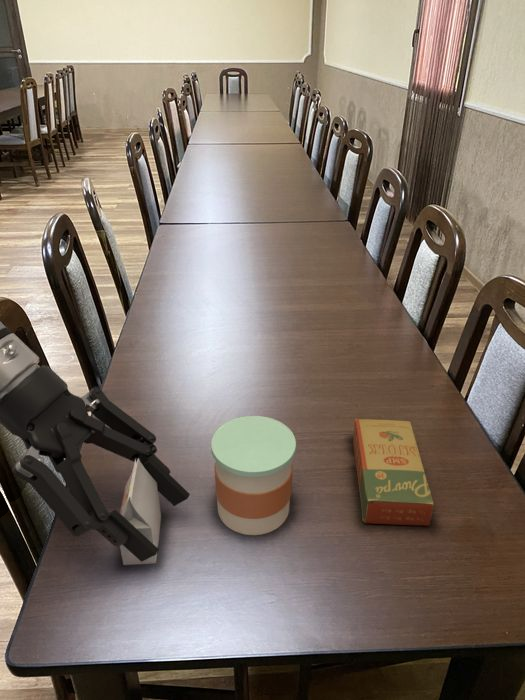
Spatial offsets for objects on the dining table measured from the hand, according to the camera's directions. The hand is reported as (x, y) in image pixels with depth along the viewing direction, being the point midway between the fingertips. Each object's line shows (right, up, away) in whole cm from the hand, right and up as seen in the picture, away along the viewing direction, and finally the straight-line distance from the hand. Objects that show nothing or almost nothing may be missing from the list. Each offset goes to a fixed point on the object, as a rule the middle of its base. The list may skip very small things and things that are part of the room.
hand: (166, 526), depth 62 cm
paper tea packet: (-3, -3, +3) cm, 5 cm away
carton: (+28, +2, +12) cm, 31 cm away
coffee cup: (+10, 0, +7) cm, 12 cm away
